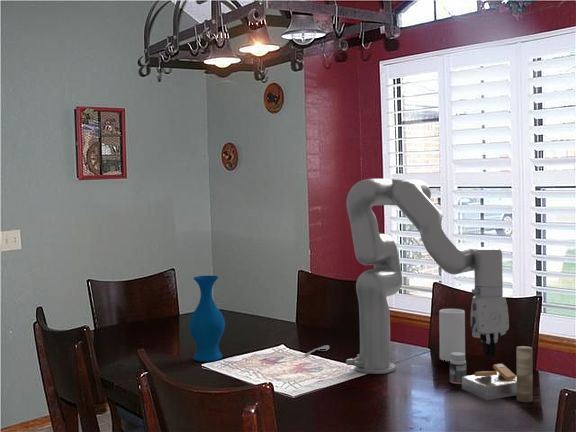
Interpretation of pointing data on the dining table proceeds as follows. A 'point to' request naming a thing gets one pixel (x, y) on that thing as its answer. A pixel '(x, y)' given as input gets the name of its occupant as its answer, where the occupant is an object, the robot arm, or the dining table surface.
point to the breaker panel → (490, 386)
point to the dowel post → (524, 374)
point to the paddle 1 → (486, 373)
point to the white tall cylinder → (451, 332)
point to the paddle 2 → (504, 371)
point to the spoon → (318, 349)
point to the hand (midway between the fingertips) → (489, 356)
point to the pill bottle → (457, 367)
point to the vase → (207, 323)
